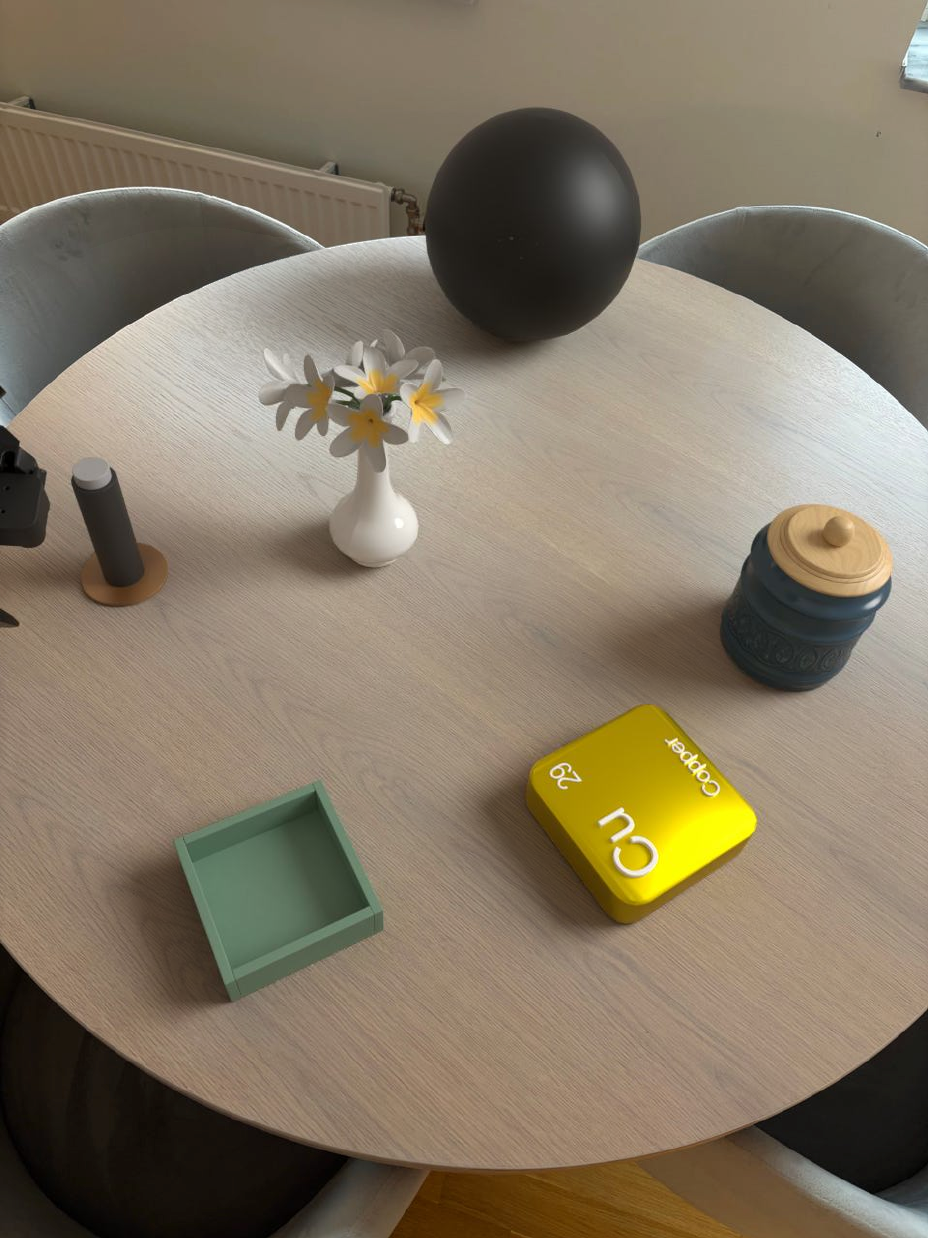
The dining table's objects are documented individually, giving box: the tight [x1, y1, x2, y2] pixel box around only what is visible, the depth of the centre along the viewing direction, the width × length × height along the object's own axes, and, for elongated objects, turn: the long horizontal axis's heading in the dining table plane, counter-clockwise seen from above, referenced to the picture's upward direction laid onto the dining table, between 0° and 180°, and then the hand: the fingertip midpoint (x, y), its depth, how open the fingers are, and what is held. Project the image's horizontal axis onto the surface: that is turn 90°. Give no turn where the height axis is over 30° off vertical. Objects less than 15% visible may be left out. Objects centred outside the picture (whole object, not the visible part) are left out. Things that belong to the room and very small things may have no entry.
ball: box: [424, 106, 642, 342], centre depth 119 cm, size 27×27×27 cm
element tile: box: [524, 703, 758, 925], centre depth 82 cm, size 15×15×5 cm
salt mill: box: [70, 456, 145, 587], centre depth 91 cm, size 4×4×14 cm
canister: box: [719, 503, 894, 692], centre depth 90 cm, size 13×13×18 cm
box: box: [172, 779, 384, 1003], centre depth 76 cm, size 13×13×4 cm
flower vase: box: [258, 328, 467, 569], centre depth 92 cm, size 13×18×25 cm
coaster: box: [80, 542, 169, 608], centre depth 97 cm, size 8×8×1 cm
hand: (22, 577), depth 83 cm, fingers open, 9 cm apart
